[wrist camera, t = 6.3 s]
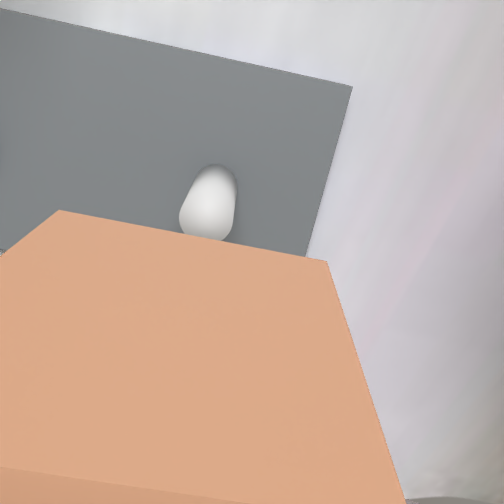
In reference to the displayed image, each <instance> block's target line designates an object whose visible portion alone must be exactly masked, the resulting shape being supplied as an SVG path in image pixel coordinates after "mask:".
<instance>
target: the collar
mask: <svg viewBox="0 0 504 504" xmlns="http://www.w3.org/2000/svg"><path fill="white" fill-rule="evenodd" d="M0 504H406V501H405V498H404V495H403V492H402V489H401V486H400V483H399V480H398V477H397V474H396V471H395V468H394V465H393V462H392V459H391V456H390V453H389V449H388V446H387V443H386V440H385V437H384V434H383V431H382V428H381V425H380V422H379V419H378V416H377V413H376V410H375V407H374V404H373V401H372V398H371V395H370V392H369V389H368V386H367V383H366V379H365V376H364V373H363V370H362V367H361V364H360V361H359V358H358V355H357V352H356V349H355V346H354V343H353V340H352V337H351V334H350V331H349V328H348V325H347V322H346V319H345V316H344V313H343V309H342V306H341V303H340V300H339V297H338V294H337V291H336V288H335V285H334V282H333V279H332V276H331V273H330V270H329V267H328V264H327V261H323V260H317V259H312V258H307V257H302V256H297V255H291V254H286V253H281V252H276V251H271V250H266V249H260V248H255V247H250V246H245V245H240V244H234V243H229V242H224V241H219V240H214V239H208V238H203V237H198V236H193V235H188V234H182V233H177V232H172V231H167V230H162V229H156V228H151V227H146V226H141V225H136V224H130V223H125V222H120V221H115V220H110V219H104V218H99V217H94V216H89V215H84V214H78V213H73V212H68V211H63V210H58V211H57V212H55V213H54V214H53V215H52V216H50V217H49V218H48V219H47V220H45V221H44V222H43V223H41V224H40V225H39V226H38V227H36V228H35V229H34V230H33V231H31V232H30V233H29V234H28V235H26V236H25V237H24V238H22V239H21V240H20V241H19V242H17V243H16V244H15V245H14V246H12V247H11V248H10V249H9V250H7V251H6V252H5V253H3V254H2V255H1V256H0Z"/></svg>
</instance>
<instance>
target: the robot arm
mask: <svg viewBox="0 0 504 504" xmlns="http://www.w3.org/2000/svg"><path fill="white" fill-rule="evenodd" d="M405 501H406V504H420V503H417V502H415V501H412V500H409V499H405Z"/></svg>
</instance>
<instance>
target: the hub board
mask: <svg viewBox="0 0 504 504" xmlns="http://www.w3.org/2000/svg"><path fill="white" fill-rule="evenodd" d="M352 88H353V87H352V86H349V85H345V84H340V83H336V82H331V81H327V80H322V79H318V78H313V77H309V76H304V75H300V74H295V73H291V72H286V71H282V70H277V69H272V68H268V67H263V66H259V65H254V64H250V63H245V62H241V61H236V60H232V59H227V58H223V57H218V56H214V55H209V54H205V53H200V52H196V51H191V50H187V49H182V48H178V47H173V46H168V45H164V44H159V43H155V42H150V41H146V40H141V39H137V38H132V37H128V36H123V35H119V34H114V33H110V32H105V31H101V30H96V29H92V28H87V27H83V26H78V25H74V24H69V23H65V22H60V21H55V20H51V19H46V18H42V17H37V16H33V15H28V14H24V13H19V12H15V11H10V10H6V9H1V8H0V249H2V250H9V249H10V248H11V247H12V246H14V245H15V244H16V243H17V242H19V241H20V240H21V239H22V238H24V237H25V236H26V235H28V234H29V233H30V232H31V231H33V230H34V229H35V228H36V227H38V226H39V225H40V224H41V223H43V222H44V221H45V220H47V219H48V218H49V217H50V216H52V215H53V214H54V213H55V212H57V211H58V210H63V211H68V212H73V213H78V214H84V215H89V216H94V217H99V218H104V219H110V220H115V221H120V222H125V223H130V224H136V225H141V226H146V227H151V228H156V229H162V230H167V231H172V232H177V233H182V234H188V235H193V236H198V237H203V238H208V239H214V240H219V241H224V242H229V243H234V244H240V245H245V246H250V247H255V248H260V249H266V250H271V251H276V252H281V253H286V254H291V255H297V256H302V257H305V255H306V251H307V248H308V244H309V241H310V237H311V234H312V230H313V227H314V223H315V219H316V216H317V212H318V209H319V205H320V202H321V198H322V195H323V191H324V187H325V184H326V180H327V177H328V173H329V170H330V166H331V163H332V159H333V156H334V152H335V148H336V145H337V141H338V138H339V134H340V131H341V127H342V124H343V120H344V116H345V113H346V109H347V106H348V102H349V99H350V95H351V92H352Z"/></svg>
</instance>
